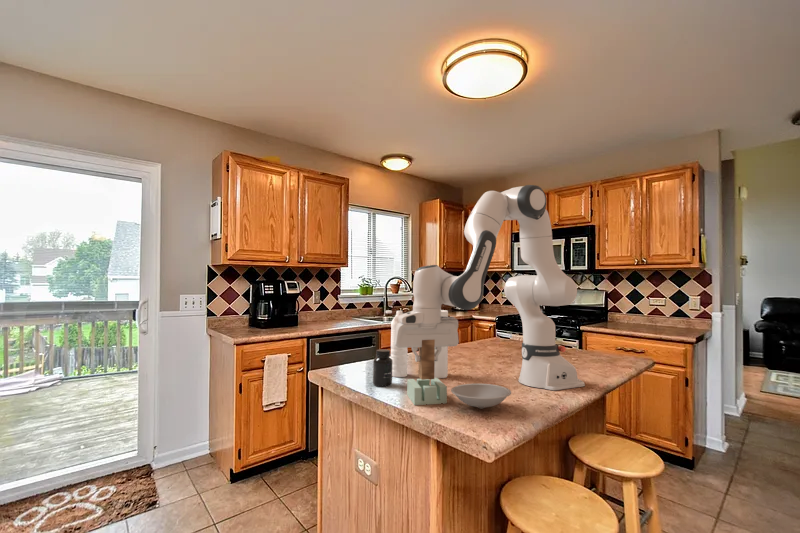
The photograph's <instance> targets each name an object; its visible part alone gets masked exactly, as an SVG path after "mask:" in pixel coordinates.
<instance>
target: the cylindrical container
mask: <svg viewBox="0 0 800 533" xmlns="http://www.w3.org/2000/svg"><path fill="white" fill-rule="evenodd" d="M441 317H449V310H446V309H445V310H444V309H441ZM448 348H449V346H446V347H441V352H440V353H439V355H438V361H434V378H438V379H445V378H448V377H447V376H449V374H448V373H449V370H448V368H449V367H448V364H449V361H448V358H449V357H448V356H449V352H448V351H449V349H448ZM435 352H436V349H435Z"/></svg>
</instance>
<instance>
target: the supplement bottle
mask: <svg viewBox="0 0 800 533" xmlns="http://www.w3.org/2000/svg"><path fill="white" fill-rule="evenodd" d="M375 352H376V354H375V356H376V357H375V358H374V359H373V360H372V361H373V362H372V363H373V364H372V365H373V366H372V384H373V386H375V387H380V388H386V386H387V387H390V386H392V384H393V376H392V359H391V349H387V348H385V349H384V348H383V349H376V351H375Z"/></svg>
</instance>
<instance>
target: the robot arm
mask: <svg viewBox="0 0 800 533" xmlns="http://www.w3.org/2000/svg"><path fill="white" fill-rule="evenodd" d="M545 193H546V192H544V190H543V188H542V187H540V186H539V185H535V184H526V185H522V186H521V185H520V186H516V187H515V186H514V187H511V188H509V189H506V190H504V191H496V190H488V191H486V192H484V193H483V194H482V195H481V196H480V198H479V199H478V200H477V201H476V204H475V205H474V207H473V208H472V210H471V212H470V214H469V215H468V218H467V221H466V223H465V226H464V229H463V230H464V231H463V234H464V237H465V238H466V239H465V240H466V241H467V242H469V243H470V244H471V245H472V252H471V254H470V256H469V257H470V258H469V260H468V262H467V265H466V268H465V270H464V271H463V273H461V274H460V275H458V276H457V275H453V274H451V273H448V272H447V271H445V270H443V269H442V268H441V267H440V266H439V265H437V264H430V265H423V266H420V267H418V268H416V270H414V275H413V282H412V283H413V284H412V286H413V287H412V296H413V305H412V310H411V311H408V312H403V314H401V315H399V316H398V320H399V322H400V323H398V324H397V326H396V329H395V336H394V344H395V345H396V346H397V347H398V348H407V349H408V348H411V351H412V353H413V355H414V360H415V362H416V363H419V362H421V356H420V355H419V353H417V351H419V347H422V340H435V349H436V352H435V356H434V361H438V355H439V353H440V352H441V347H446V346H448V347H457V346H458V345H459V332H458V328H459V320H458V319H457V318H456V317H455V316H448V317H441V310H442V305H445V306H450V307H455V308H458V309H460V310H465V311H468V310H473V309H475V308H476V307H478V306H479V304H480V303H481V302H482V299H483V296H484V287H485V286H484V285H485V281H486V277H487V275H488V274H487V273H488V271H489V268H490V265H491V263H492V259H493V256H494V253H495V250H496V246H497V237H498V236H499V232H500V230H501V228H502V226H503V224H504V221H517V222H518V224H519V247H520V250H519V251H520V258H521V260H522V261H523V263H525V264H526V265H529V266H530V267H532V268H533V269H534V270H535V273H536V275H535V274H533V275H532V274H531V275H530V274H529V275H528V274H522V275H516V276H512V277H509V278H508V279H507V280H506V282H505V283H504V287H503V288H504V290H503V292H504V295H505V298H506V299H507V300H508V301H509V302H510V303H511V304H512V305H513V306H514V307H515V309H516V310H517V312H518V314H519V316H520V319H521V323H522V324H521V325H522V342H521V358H522V362H521V368H520V373H519V378H518V379H517V380H518V383H520V384H522V385H525V386H529V387H532V388H539V389H546V390H550V391H560V390H568V389H575V388H580V387H581V388H582V387H585V385H586V383H585V382H584V380H581V379H580V378H578V372H577V368H576V367H575V366H574V365H573V364H572V362H569V361H568V360H567V359H566V358H565V357H564V356H562V355H561V352H562V353H565V352H566V351H567V348H566V347H565V346H564V345H558V344H556V324H555V322H554V321H553V319H552V318H550V317H549V316H547V315H546V314H544V313H543V312H542V310H541V308H540V306H548V307H549V306H550V307H560V306H569V305H571V304H572V303H573V302H574V301H575V300H576V298H577V295H578V288H577V284H576V283H575V281H574V280H573V278H572V277H570V276H568V274H566V273H565V272H564V271H563V270H562V269H561V268H560V266H559V265H558V263H557V261H556V260H557V259H556V258H555V253H554V243H553V231H552V230H553V229H552V224H551V223H552V222H551V219H550V215H549V212H548V210H547V209H546V207H547V197H546V196H547V195H546V194H545Z"/></svg>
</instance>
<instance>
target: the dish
mask: <svg viewBox="0 0 800 533" xmlns="http://www.w3.org/2000/svg"><path fill="white" fill-rule="evenodd" d="M450 392H451V393H452V395H454V396H455V397H456V398H457V399H459V401H460V402H462V403H464V405H467V406H470V407H475V408H477V409H485V408H491V407H495V406H497V405H499V404H501V403H502V402H503V401H505V400H506V398H508V397H509V396H511V395H512V390H511V389H509V388H508V387H504V386H501V385H496V384H492V383H491V384H490V383H465V384H460V385H459V384H458V385H456V386H453V387H452V388H451V389H450Z"/></svg>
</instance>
